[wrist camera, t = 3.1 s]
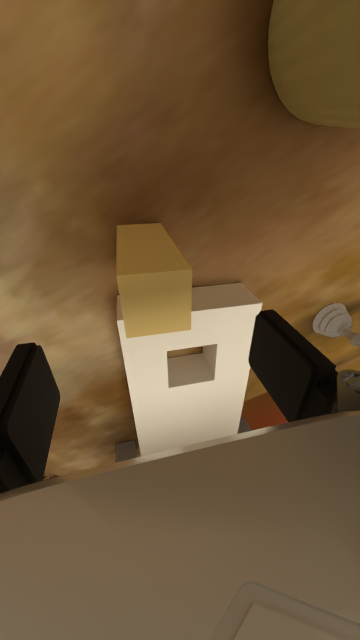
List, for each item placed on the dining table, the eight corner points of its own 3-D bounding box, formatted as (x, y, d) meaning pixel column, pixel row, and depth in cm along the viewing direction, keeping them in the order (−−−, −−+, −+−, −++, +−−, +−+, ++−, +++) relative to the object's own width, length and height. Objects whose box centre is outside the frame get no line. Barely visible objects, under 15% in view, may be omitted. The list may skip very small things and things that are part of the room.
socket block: (116, 295, 26) (116, 320, 22) (241, 282, 29) (262, 303, 24) (139, 431, 39) (142, 463, 35) (223, 414, 42) (235, 442, 38)
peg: (116, 225, 23) (116, 276, 13) (160, 222, 23) (192, 269, 13) (122, 267, 25) (126, 338, 15) (162, 263, 26) (191, 329, 16)
